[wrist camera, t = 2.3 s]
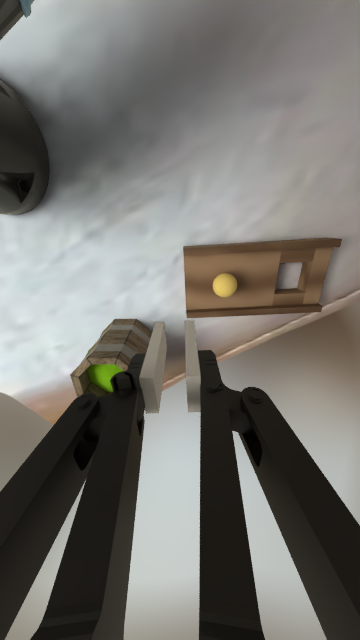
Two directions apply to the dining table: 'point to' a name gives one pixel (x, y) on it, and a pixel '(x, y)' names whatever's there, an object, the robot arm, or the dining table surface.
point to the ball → (224, 285)
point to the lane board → (255, 277)
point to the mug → (110, 356)
